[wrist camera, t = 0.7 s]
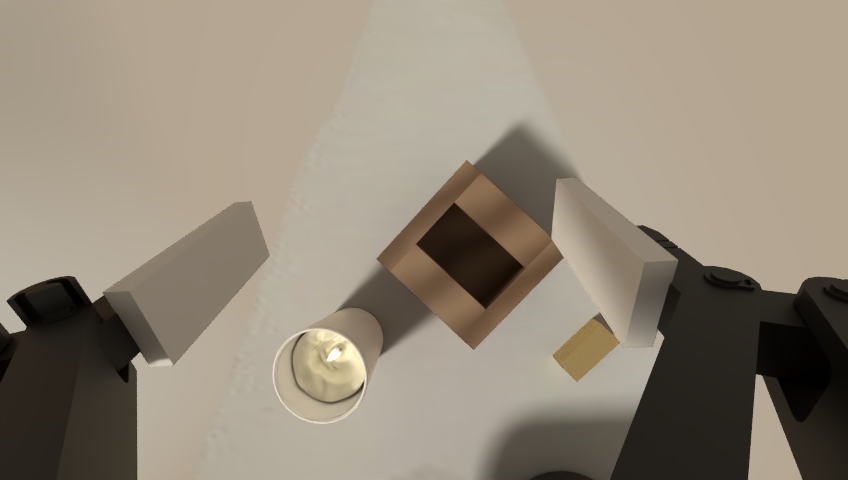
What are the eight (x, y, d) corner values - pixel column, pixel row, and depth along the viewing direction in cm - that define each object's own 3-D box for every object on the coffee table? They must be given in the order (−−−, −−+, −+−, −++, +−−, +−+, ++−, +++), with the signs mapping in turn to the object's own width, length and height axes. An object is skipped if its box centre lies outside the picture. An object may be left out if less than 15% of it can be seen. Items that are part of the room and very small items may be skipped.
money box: (544, 247, 43) (568, 252, 34) (468, 325, 44) (473, 349, 35) (463, 173, 44) (466, 159, 35) (391, 252, 45) (376, 258, 36)
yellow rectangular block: (608, 334, 43) (620, 342, 40) (568, 371, 44) (577, 381, 41) (591, 317, 43) (601, 324, 40) (551, 354, 44) (559, 364, 41)
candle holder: (371, 290, 45) (343, 312, 33) (400, 357, 45) (383, 403, 33) (307, 317, 46) (256, 349, 34) (335, 383, 46) (295, 438, 34)
